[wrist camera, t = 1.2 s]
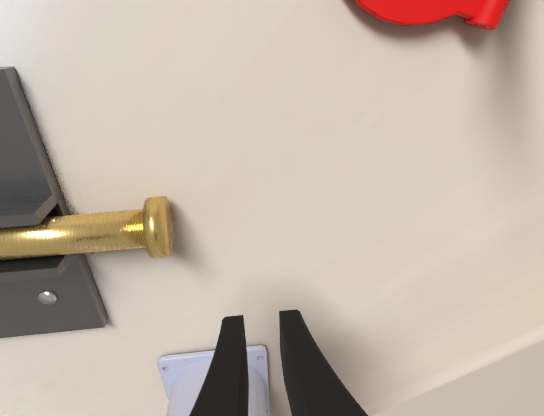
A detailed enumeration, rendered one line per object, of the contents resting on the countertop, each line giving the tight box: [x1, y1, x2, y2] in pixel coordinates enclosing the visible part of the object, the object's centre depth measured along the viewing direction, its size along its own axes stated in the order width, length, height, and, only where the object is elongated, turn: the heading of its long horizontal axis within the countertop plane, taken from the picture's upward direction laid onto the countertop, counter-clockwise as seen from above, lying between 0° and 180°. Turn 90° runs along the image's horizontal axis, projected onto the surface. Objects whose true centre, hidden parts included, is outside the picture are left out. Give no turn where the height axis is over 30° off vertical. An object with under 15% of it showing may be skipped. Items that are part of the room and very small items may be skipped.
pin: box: [0, 196, 174, 260], centre depth 18 cm, size 3×13×3 cm, turn 92°
